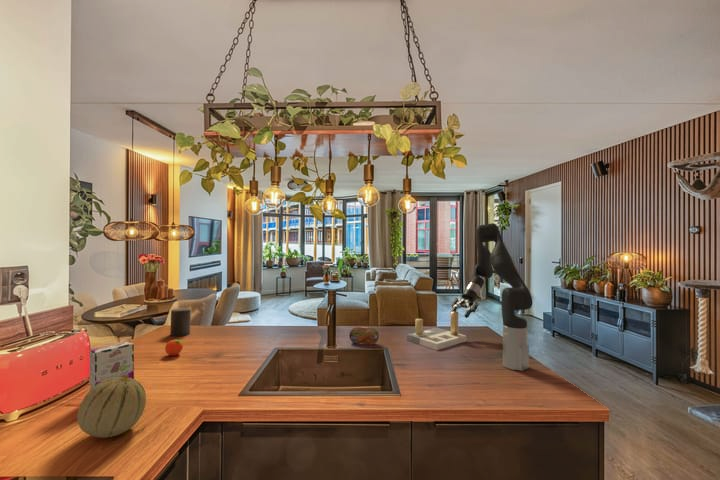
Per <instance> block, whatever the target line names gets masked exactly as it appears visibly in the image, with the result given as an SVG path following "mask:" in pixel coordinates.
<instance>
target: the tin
mask: <svg viewBox="0 0 720 480" xmlns="http://www.w3.org/2000/svg"><path fill="white" fill-rule="evenodd" d="M348 336H349V339H350V341H351V342H352V343H353V344H355V343H363V344H362V345H367V344H370V345H371V346H372V345H375V344H376V343H377V342H378V341H379V337H380V335H379V332H378V330H377V329H376V328H375V327H367V326H356V327H353V328H352V329H351V330H350V331H349V335H348Z"/></svg>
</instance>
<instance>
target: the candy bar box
mask: <svg viewBox="0 0 720 480" xmlns="http://www.w3.org/2000/svg"><path fill="white" fill-rule="evenodd" d="M134 347H135V343H133V342H130V341H124V342H120V343H114V344H110V345H107V346H103V347H98V348H94V349H90V350H89V391H90V390H91V389H92V388H93V387H94V386H96V385H97V384H98V383H100V382H102V381H104V380H106V379H109V378H114V377H124V376H125V375H126V374H128V378H132V379H135V352H134V349H135V348H134Z"/></svg>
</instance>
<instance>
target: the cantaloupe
mask: <svg viewBox="0 0 720 480" xmlns="http://www.w3.org/2000/svg"><path fill="white" fill-rule="evenodd" d="M146 403H147V393H146V390H145V388H144V386H143V385H142V383H140V382H139V381H138V380H136V379H135V378H134V379H132V378H128V374H126V375H125V376H124V377H114V378H109V379H106V380H104V381H102V382H100V383H98V384H97V385H96V386H94V387H93V388H92V389H91V390H90V389H89V391H87V393H86V394H85V396H84V397H83V399H82V400H81V403H80V404H79V407H78V410H77V424H78V426H79V429H80V430H81V431H83V432H84V433H85V434H87V435H89V436H91V437H94V438H101V439H105V438H108V437H110V438H114V437H116V436H119V435H121V434H123V433H124V434H125V432H127V431H129V430H130V429H131V428H133V427H134V426H135V425H136V424H137V423H138V421H139V420H140V419H141V417H142V416H143V413H144V411H145V407H146ZM113 436H114V437H113Z"/></svg>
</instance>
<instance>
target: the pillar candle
mask: <svg viewBox="0 0 720 480" xmlns="http://www.w3.org/2000/svg"><path fill="white" fill-rule="evenodd" d="M170 310H171V311H170V329H169V330H170V332H169V334H170V336H172V337H183V336H187V335H190V334H191V317H192V313H191V312H192V311H191V310H192V309H191V308H190V307H177V308H173V309H170Z"/></svg>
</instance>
